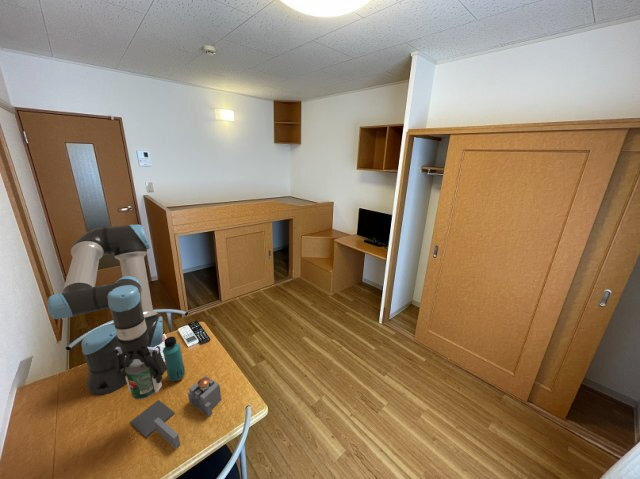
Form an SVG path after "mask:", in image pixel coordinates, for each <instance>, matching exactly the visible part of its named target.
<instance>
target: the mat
mask: <svg viewBox="0 0 640 479" xmlns="http://www.w3.org/2000/svg"><path fill="white" fill-rule="evenodd" d="M174 415H176V413H175V411H173V410H172V409H171V408H170V407H168V406H167V405H166V404H165V403H164V402H162V401H161V400H159V399H157V400H156V401H155V402H154V403H152V404H151V405H150V406H148V407H147V408H146V409H145V410H144V411H142V412H140V414H138V415H137V416H136V417H134V418H133V419H132V420H130V421H129V423H130V425H131V426H132V427H134V429H136V430H137V431H138V432H139V433H140V434H141V435H142V437H144V438H145V439H147V438H149V436H151V435H152V434H153V433H154V432H156V428H155V424H154V420H155V419H157V418H158V417H159V418H160V419H161V420H162V421H163V422H164V423H166V422H167V421H168V420H169V419H170V418H171V417H173V416H174Z"/></svg>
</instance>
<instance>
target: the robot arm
mask: <svg viewBox="0 0 640 479" xmlns="http://www.w3.org/2000/svg"><path fill="white" fill-rule="evenodd" d="M150 249H151V246H150V243H149V240H148V237H147V234H146V231H145V229H144V227H143V225H141V224H128V225H127V224H125V225H118V226H117V225H115V226H106V227H97V228H94V229H91V230H89V231H87V232H85V233H83V235H81V236H80V237H78V238H77V239H76V240H75V241H74V242H73V244H72V247H71V249H70V255H71V257H72V258H71V262H70V266H69V269H68V273H67V276H66V279H65V282H64V286H63V289H62V292H58V293H56V294H52V295H50V296H48V298H47V310H48V314H49V316H50V317H51V318H52V319H53V320H61V319H65V318H73V317H77V316H80V315H84V314H88V313H92V312H97V311H101V310H102V311H103V310H106V309H109V310H110V314H111V318H112V321H113V324H111V323H109V324H105V325H102V326H99V327H97V328H95V329H93V330H92V331H90V332H89V333H87V335H85V336H84V338H83V339H82V341H81V352H82V354H83V356H84V359H85V362H86V365H87V369H88V371H89V372H88V378H87V388H88V391H89V393H90V394H92V395H97V396H98V395H106V394H109V393H113V392H115V391H117V390H118V389H121V388H122V387H123V386H125V385H127V388H128V392H129V393H131V390H130V386H129V382H128V378H127V374H126V371H125V368H126V367H129V365H130V364H131V363H132V362H133V359H138V360H140V361H141V362H142V363H144V364H145V365H146V366H147V367H150V371H151V373H152V374H153V377H152V381H153V385H154V389H155V393H159V391H160V390H161V387H162V386H163V384H162V381H163V375H164V374H165V372H167V367H166V364H165V359H164V358H163V356H162V353H161V346H160V345H161V344H162V343H163V342H164V333H163V332H164V329H163V326H164V325H163V316H159V313H158V312H156V311H155V310H154V309H153V308H154V307H153V303H152V297H151V292H150V291H151V290H150V285H149V278H148V274H147V268H146V262H145V257H146V255H147V254H148V250H150ZM106 255H108V256H109V255H114V258H115V259H116V260H118V261H119V264H120V270H121V276H122V277H120V278H118V279H117V280H116V281H115V282H112V283H108V284H107V283H106V284H103V285H97V286H96V282H97V277H98V276H97V275H98V269H99V264H100V259H102V258H103V256H106ZM144 357H145V358H144Z"/></svg>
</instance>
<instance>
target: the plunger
mask: <svg viewBox="0 0 640 479" xmlns="http://www.w3.org/2000/svg"><path fill="white" fill-rule="evenodd" d="M203 377H204V376H203ZM203 377H201V378H199V380H198V381H197V382H198V386H199V387H200V390H201V392H202V394H203V393H204V392H205V391H206V390H207V389H209V383H210V379H211V378H210V377H209V376H207V377H204V378H203ZM208 377H209V378H208Z"/></svg>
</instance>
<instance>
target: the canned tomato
mask: <svg viewBox="0 0 640 479" xmlns="http://www.w3.org/2000/svg"><path fill="white" fill-rule="evenodd" d="M144 358H145V357H144ZM125 371H126V374H127V378H128V382H129V386H130V390H131V392H130V393H131V397H132V399H134V400H138V401H139V400H144V399H147V398H149V397H151V396H152V395H154V394H155V393H156V392H155V389H154V385H153V381H152V377H153V374H152V373H151V371H150V367H147V366H146V365H145V364H144V363H142V362H141V361H140V360H138V359H133V362H132V363H131V364H130V365H129V367H126V368H125Z"/></svg>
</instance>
